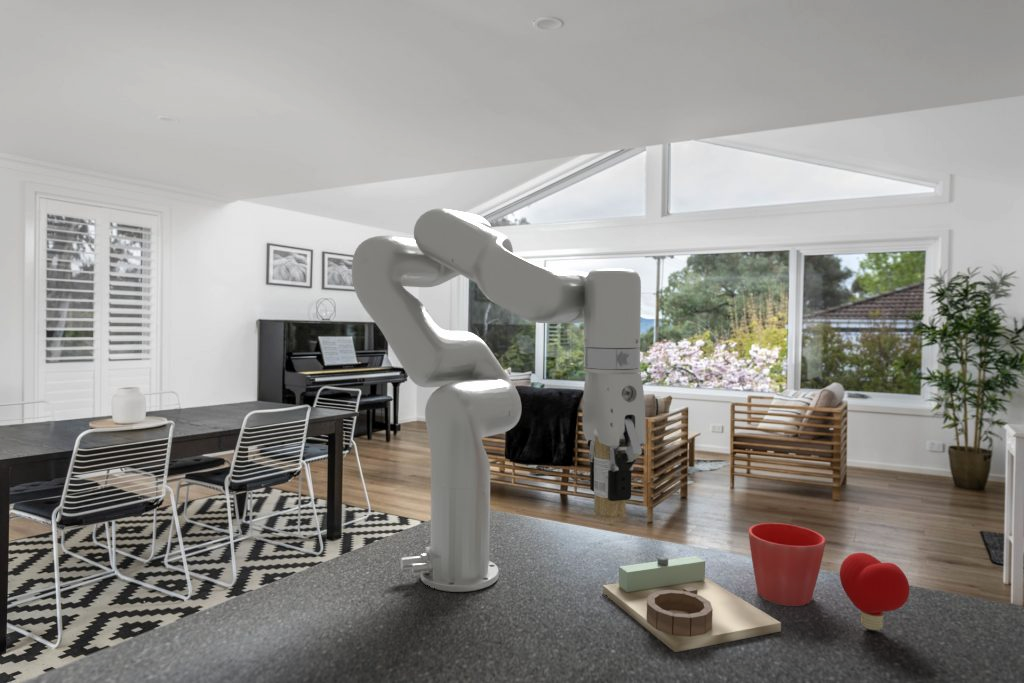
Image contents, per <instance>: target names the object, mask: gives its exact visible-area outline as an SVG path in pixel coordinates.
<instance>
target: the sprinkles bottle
mask: <svg viewBox="0 0 1024 683" xmlns="http://www.w3.org/2000/svg"><path fill="white" fill-rule="evenodd" d="M594 434H596V435H598V432H597V430H596V429H595V430H594ZM595 439H596V440H595V455H594V491H593V493H594V494H593V495H594V498H593V499H594V510H593V513H592V515H593V517H594V519H596V520H598V521H602V522H604V523H605V522H606V523H619V522H622V521H625V520H626V519H627V512H626V506H627V504H626V501H627V500H620V501H610V500H609V499H608V470H612V469H611V461H610V451H609V447H607V446H605V445H603V444H601V443H599V441H598V437H596V436H595ZM619 443H620V445H619V446H618V447H621V446H625V443H624V442H619ZM617 453H618V458H619V457H620V455H621V454H622V453H624V451H617Z"/></svg>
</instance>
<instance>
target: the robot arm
mask: <svg viewBox="0 0 1024 683" xmlns="http://www.w3.org/2000/svg"><path fill="white" fill-rule="evenodd" d="M460 275H461V276H463V277H465V278H466V279H468V280H470V281H472V282H473V283H475V284H477V287H478V289H479V290H480V292H481V293H482V295H483V296H485V297H486V298H487V300H489V301H491V302H492V303H494V304H495V305H497V306H499V307H500V308H503V309H505V310H506V311H508V312H510V313H512V314H513V315H515V316H517V317H520V318H521V319H523V320H527V321H529V322H532V323H538V324H558V323H560V324H579V323H583V372H584V373H585V376H584V387H583V398H582V432H583V436H584V438H585V440H586V443H587V447H588V450H589V451H588V452H589V454H588V459H589V461H590V462H589V463H590V467H589V468H590V470H589V476H590V477H589V478H590V480H589V481H590V482H589V489H590V490H591V491H592V492H594V455H595V440H596V439H595V436H596V437H598V441H599V443H601V444H603V445H605V446H607V447H609V451H610V461H611V469H612V470H608V499H609V500H610V501H620V500H626V501H629V500H631V498H632V471H633V470H634V468H635V467H634V466H635V465H634V464H635V462H636V461H637V459H638V458H639V457H640V456H641V455H642V453H643V450H642V447H644V445H645V444H646V438H647V437H646V435H647V434H646V432H647V430H646V429H647V428H646V426H647V425H646V407H645V405H646V404H645V392H644V385H643V378H642V373H640V371H641V311H642V310H641V309H642V307H641V306H642V302H641V299H642V283H641V282H642V281H641V277H640V275H639V273H638V272H636V271H635V270H633V269H627V268H600V269H599V268H598V269H595V270H591V271H589V272H586V271H579V270H569V269H565V268H564V269H563V268H554V267H544V266H541V265H538V264H536V263H534V262H531V261H529V260H527V259H525V258H523V257H521V256H518V255H516V254H515V253H514V250H513V244H512V242H511V240H510V239H509V237H508V236H506V235H505V234H504V233H502V232H499V231H497V230H494V228H493V227H492V225H491V224H490V222H489V221H488V220H486V218H484V217H482V216H480V215H478V214H474V213H470V212H465V211H460V210H454V209H449V208H433V209H430V210H427V211H425V212H423V214H421V215H420V216H419V217H418V219H417V220H416V222H415V224H414V228H413V238H411V237H403V236H397V235H396V236H395V235H377V236H373V237H368V238H366V239H365V240H363V241H362V242H361V243H360V244H359V245H358V246H357V248H355V251H354V253H353V257H352V262H351V277H352V279H351V280H352V284H353V287H354V291H355V294H356V296H357V299H358V300H359V303H360V304H361V305H362V308H364V311H366V313H367V314H368V316H370V318H371V319H372V321H373V322H374V324H376V326H377V327H378V329H379V330H380V331H381V333H382V335H383V337H384V338H385V340H386V342H387V344H388V345H389V347H390V349H391V350H392V352H393V353H394V355H395V357H396V359H397V361H399V363H400V365H401V367H402V368H403V370H404V371H405V373H406V374H407V376H408V377H409V379H410V380H411V382H413V384H414V385H417V386H419V387H420V388H421V387H422V388H436V389H435V390H434V391H433V392H432V393H431V394H430V396H429V398H427V401H426V404H425V407H424V408H425V411H424V418H425V420H424V421H425V425H426V430H427V435H428V436H427V438H428V441H429V442H428V443H429V449H430V546H425V552H421V553H419V555H416V556H414V555H409V556H401V557H400V561H399V563H400V568H401V569H400V570H411V572H412V574H415V573H420V580H421V581H422V583H423V584H425V585H426V586H427V585H428V586H427V587H429V586H430V587H429V588H432V589H434V588H435V590H438V591H442V592H452V593H463V592H465V593H466V592H473V591H480V590H482V589H485V588H488V587H490V586H492V585H493V584H494V583H496V582H497V581H498V579H499V576H500V574H499V572H500V569H499V567H498V565H496V564H495V563H494V562H493V561H491V560H490V536H491V535H490V533H491V532H490V531H491V530H490V529H491V528H490V527H491V526H490V524H491V522H490V521H491V464H490V459H489V456H488V454H487V451H486V449H485V446H484V443H483V439H484V438H487V437H492V436H497V435H501V434H503V433H506V432H508V431H510V430H511V429H513V428H515V427H516V426H517V425H518V423H519V421H520V419H521V416H522V401H521V396H520V394H519V392H518V390H517V388H516V385H515V384H514V383H513V381H512V380H511V378H510V377H509V375H508V374H507V372H506V370H505V369H504V368H503V367H502V364H500V362H499V360H498V358H496V356H495V354H494V353H493V351H492V350H491V348H490V347H489V346H488V345H487V344H486V342H485V341H484V340H483V339H482V338H481V337H479V335H476V334H475V333H473V332H471V331H467V330H460V329H459V330H457V329H453V330H451V329H450V330H448V329H443V328H441V327H440V326H439V325H438V324H437V322H436V321H435V320H434V319H433V317H432V316H431V314H430V313H429V311H428V309H427V307H426V306H424V304H423V303H422V302H421V301H420V300H419V299H418V298H417V297H416V296H414V295H413V294H412V293H411V292H409V291H408V290H407V289H406V288H405V287H409V288H410V287H411V288H433V287H437V286H440V285H442V284H444V283H446V282H448V281H450V280H452V279H454V278H456V277H458V276H460ZM595 429H596V430H597V432H598V435H596V434H594V430H595ZM619 442H624V443H625V446H621V447H618V446H619V445H620V443H619ZM617 451H624V453H622V454H621V455H620V457H619V458H618V453H617Z"/></svg>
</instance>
